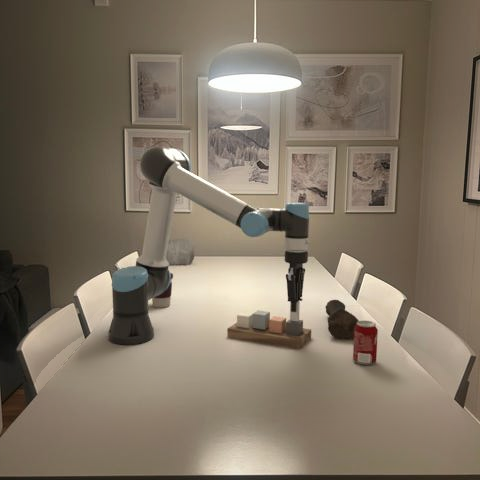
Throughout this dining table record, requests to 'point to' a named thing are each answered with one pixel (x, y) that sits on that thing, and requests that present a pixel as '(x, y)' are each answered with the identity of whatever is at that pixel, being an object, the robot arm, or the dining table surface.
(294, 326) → the dark gray block
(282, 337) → the wooden block tray
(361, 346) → the soda can
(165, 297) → the coffee cup
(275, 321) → the key terracotta
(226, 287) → the dining table surface
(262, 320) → the light grey block
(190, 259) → the decorative stone
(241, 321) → the key ivory
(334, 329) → the dark brown bone
